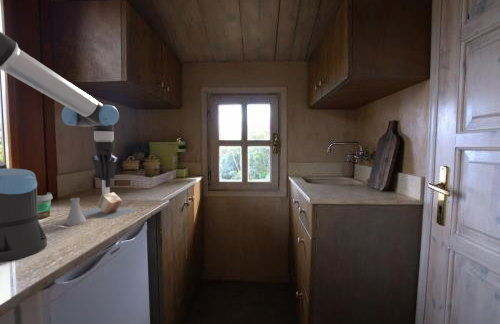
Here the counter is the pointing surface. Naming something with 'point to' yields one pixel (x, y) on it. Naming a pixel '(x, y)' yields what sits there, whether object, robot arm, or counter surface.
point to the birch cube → (109, 202)
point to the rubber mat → (100, 214)
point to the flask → (75, 213)
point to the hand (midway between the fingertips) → (106, 194)
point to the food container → (44, 205)
